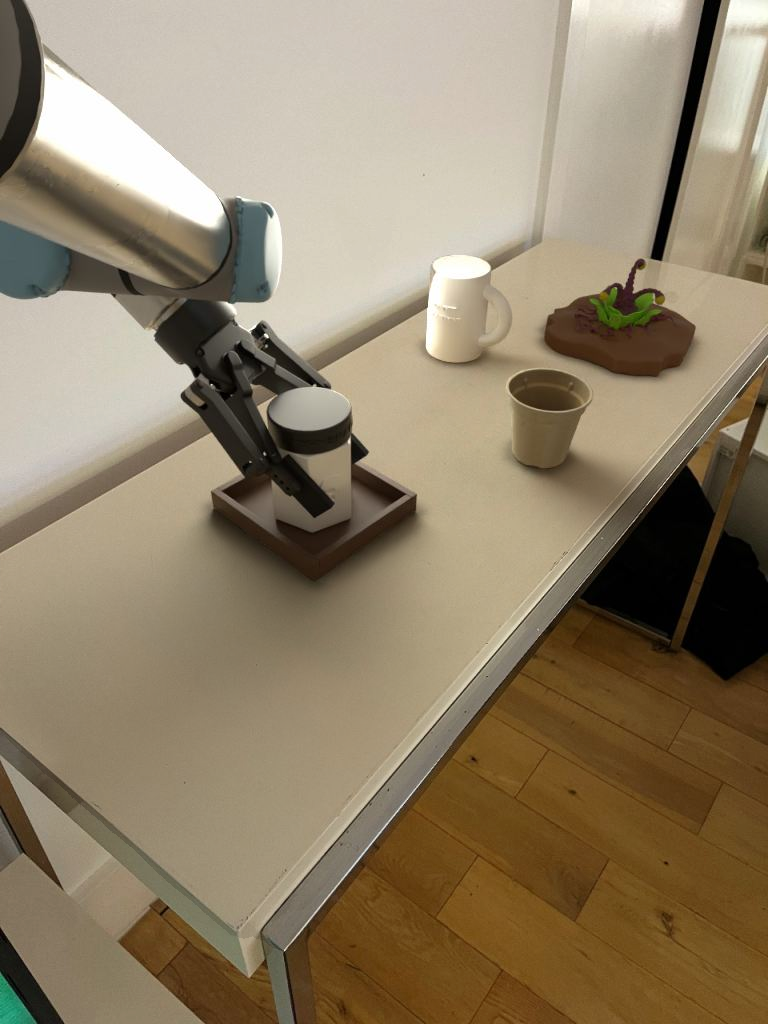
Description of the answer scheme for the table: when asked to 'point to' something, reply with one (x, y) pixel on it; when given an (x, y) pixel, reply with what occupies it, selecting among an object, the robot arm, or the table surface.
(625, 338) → the plant
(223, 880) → the table surface
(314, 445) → the jar
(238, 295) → the robot arm
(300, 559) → the tray
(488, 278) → the mug
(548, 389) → the flower pot
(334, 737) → the table surface
